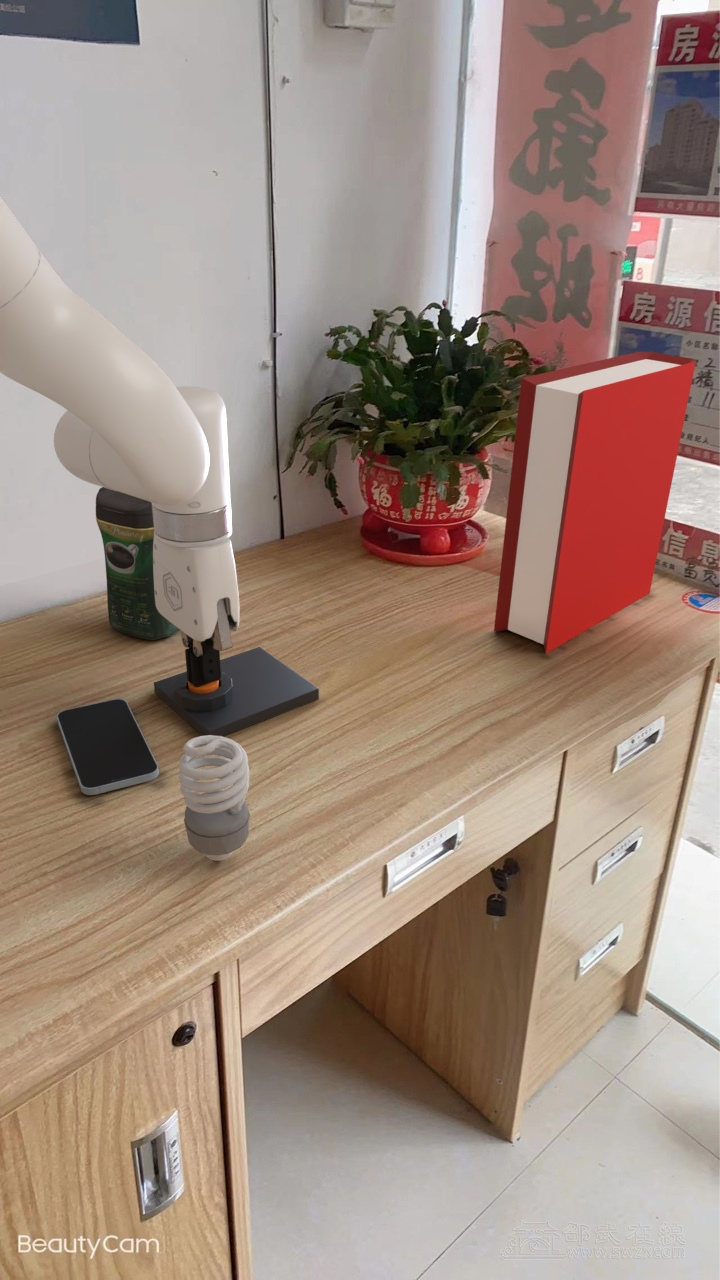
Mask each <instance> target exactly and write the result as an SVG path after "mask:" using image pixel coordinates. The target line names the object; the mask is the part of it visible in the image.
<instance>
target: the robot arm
mask: <svg viewBox="0 0 720 1280" xmlns="http://www.w3.org/2000/svg"><path fill="white" fill-rule="evenodd" d="M0 373H1V374H2V375H4V377H7V378H9V379H10V380H12V381H14V382H16V383H18V384H20V385H22V386H24V387H26V388H28V389H30V390H32V391H34V392H36V393H37V394H40V395H42V396H43V397H46V398H47V399H49V400H51V401H52V402H54V403H56V404H58V405H59V406H60V407H62V408H64V409H65V410H66V411H65V412H64V413H63V414H62V416H61V417H60V418H59V420H58V422H57V424H56V426H55V430H54V433H53V449H54V451H55V454H56V457H57V459H58V460H59V462H60V463H61V465H62V466H63V467H64V469H66V471H68V472H69V473H70V474H72V475H73V476H75V477H76V478H78V479H79V480H81V481H83V482H86V483H89V484H92V485H94V486H99V487H100V488H102V487H104V488H107V489H110V490H113V491H118V492H122V493H125V494H128V495H131V496H134V497H137V498H140V499H143V500H146V501H149V502H152V512H153V522H154V541H153V575H154V593H155V604H156V608H157V610H158V611H159V613H160V614H161V615H162V616H163V617H165V618H166V619H167V620H168V621H170V622H171V623H172V624H173V625H175V626H176V627H177V628H179V629H180V631H179V632H180V637H181V642H182V645H183V647H184V648H185V649H184V654H185V665H186V666H185V667H186V671H187V679H188V681H189V682H190V683H192V684H193V685H194V686H195V687H200V686H203V685H206V684H209V683H211V682H214V681H217V680H219V679H220V678H221V667H220V660H221V653H220V652H223V651H227V650H229V649H232V648H233V646H234V644H233V639H232V633H231V632H235V631H237V630H238V629H239V626H240V619H241V618H240V611H241V610H240V595H239V585H238V584H239V583H238V575H237V567H236V562H235V561H236V560H235V557H234V556H235V555H234V550H233V546H232V541H231V538H230V537H231V536H232V535H233V524H232V523H233V521H232V520H233V519H232V503H231V483H230V480H231V479H230V465H229V464H230V463H229V462H230V461H229V443H228V425H227V424H228V423H227V409H226V404H225V401H224V399H223V397H222V396H221V395H220V394H219V393H218V392H216V391H215V390H212V389H209V388H205V387H199V386H189V385H188V386H185V385H184V386H183V385H182V386H176V385H175V384H174V382H173V381H172V380H171V379H170V378H169V377H168V375H167V374H166V372H164V370H163V369H162V368H161V367H160V365H158V363H156V362H155V360H153V359H152V358H151V356H149V355H148V353H146V352H145V351H144V350H143V349H142V348H141V347H140V346H139V345H137V344H136V343H135V341H133V340H131V339H130V338H129V337H128V336H126V334H124V333H123V332H122V331H121V330H119V328H117V327H116V326H115V325H114V324H112V323H111V322H110V321H109V320H108V319H107V318H106V317H105V316H103V314H101V312H99V311H98V310H97V309H95V307H93V306H92V305H91V304H90V303H88V302H87V301H86V300H85V299H83V298H82V297H81V296H79V295H78V294H76V293H75V292H74V291H73V290H72V289H71V288H69V286H68V285H66V283H65V281H63V280H62V278H60V275H58V274H57V273H56V271H55V270H54V268H53V267H52V266H51V265H50V263H49V261H48V260H47V258H46V257H45V256H44V255H43V253H42V252H41V250H40V248H39V247H38V246H37V245H36V244H35V242H34V241H33V240H32V238H31V237H30V235H29V234H28V232H27V231H26V229H25V228H24V227H23V226H22V224H21V223H20V221H19V220H18V218H17V217H16V216H15V214H14V213H13V212H12V211H11V209H10V207H9V206H8V204H6V202H5V201H4V199H3V198H2V196H0Z"/></svg>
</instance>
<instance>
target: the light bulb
mask: <svg viewBox="0 0 720 1280" xmlns="http://www.w3.org/2000/svg"><path fill="white" fill-rule="evenodd" d="M182 750H183V753H184V754H183V755H181V757H180V758H179V760H178V769H179V772H178V780H179V782H180V789H179V790H180V793H181V795H182V796H183V797H184V798H183V800H184V805H186V807H185V810H184V818H183V822H184V826H185V827H184V828H185V831H186V836H187V839H188V842H189V845H190V846H191V847H192V848H193V849H194V850H196V851H197V852H198V853H200V854H204V856H206V858H208V859H209V860H211V861H216V862H217V861H218V862H223V861H225V860H227V859H228V858H230V857H231V856H232V855H233V854H234V852H235V851H236V850H238V849H240V848H241V847H242V846H243V845H244V844H246V842H247V839H248V837H249V829H250V818H251V814H250V810H249V806H248V805H249V804H248V803H247V801H246V798H247V793H248V791H249V788H250V767H249V757H248V754H247V752H246V750H245V748H243V747H242V745H241V744H239V743H238V742H237V741H234V740H233V739H231V738H229V737H225V736H224V737H222V736H213V735H207V736H202V735H200V736H196V737H193V738H190V739H189V740H188V741H186V743H185V744H184V746H183V749H182ZM205 767H213V768H205ZM200 768H203V769H200ZM214 779H215V780H214ZM216 779H218V780H216ZM208 780H210V781H208ZM211 780H214V781H211Z"/></svg>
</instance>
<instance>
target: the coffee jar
mask: <svg viewBox="0 0 720 1280" xmlns="http://www.w3.org/2000/svg"><path fill="white" fill-rule="evenodd" d="M95 520H96V524H97V527H98V530H99V532H100V534H101V539H102V545H103V552H104V553H103V554H104V563H105V575H106V598H107V600H106V602H107V614H108V622H109V623H108V624H109V625H110V627H111V628H112V629H114V630H116V631H117V632H120V633H122V634H124V635H128V636H130V637H134V638H139V639H143V640H147V641H155V640H159V639H163V638H167V637H171V636H174V635H175V634H178V633H179V632H181V631H180V629H179V628H177V627H176V626H175V625H173V624H172V623H171V622H170V621H168V620H167V619H166V618H165V617H163V616H162V615H161V614H160V613H159V611H158V610H157V608H156V604H155V593H154V575H153V541H154V522H153V512H152V502H149V501H146V500H143V499H140V498H137V497H134V496H131V495H128V494H125V493H122V492H118V491H113V490H110V489H107V488H104V487H100V488H99V489H98V492H97V493H96V496H95Z"/></svg>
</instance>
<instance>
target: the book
mask: <svg viewBox="0 0 720 1280" xmlns="http://www.w3.org/2000/svg"><path fill="white" fill-rule="evenodd" d="M696 363H697V361H696V360H695V359H693V358H691V357H685V356H679V355H674V354H667V353H661V352H655V351H635V352H632V353H627V354H621V355H617V356H613V357H609V358H604V359H600V360H595V361H591V362H586V363H582V364H577V365H574V366H573V365H572V366H569V367H564V368H560V369H556V370H551V371H548V372H543V373H538V374H534V375H529V376H524V377H521V380H520V390H519V397H518V398H519V399H518V407H517V418H516V424H515V425H516V426H515V435H514V443H513V453H512V454H513V455H512V461H511V462H512V463H511V472H510V480H509V489H508V497H507V498H508V499H507V509H506V518H505V524H504V525H505V526H504V535H503V544H502V546H503V547H502V553H501V562H500V572H499V580H498V589H497V599H496V609H495V616H494V617H495V618H494V628H493V632H501V631H507V630H508V631H510V632H512V633H515V634H517V635H520V636H522V637H524V638H527V639H529V640H532V641H534V642H536V643H538V644H541V645H543V648H544V651H545V654H548V653H550V652H551V651H553V650H555V649H557V648H558V647H560V646H561V645H563V644H565V643H566V642H568V641H570V640H572V639H574V638H575V637H577V636H579V635H581V634H582V633H584V632H586V631H587V630H589V629H591V628H592V627H595V626H596V625H598V624H599V623H601V622H603V621H605V620H606V619H608V618H610V617H612V616H613V615H615V614H617V613H619V612H620V611H622V610H623V609H625V608H627V607H628V606H630V605H632V604H634V603H635V602H638V601H639V600H641V599H643V598H644V597H646V596H648V595H649V594H650V593H651V588H652V583H653V578H654V574H655V568H656V564H657V558H658V554H659V548H660V544H661V539H662V533H663V527H664V524H665V520H666V519H665V518H666V513H667V508H668V505H669V499H670V495H671V489H672V484H673V478H674V473H675V468H676V463H677V458H678V454H679V448H680V443H681V437H682V433H683V429H684V423H685V418H686V414H687V409H688V408H687V407H688V405H689V404H688V403H689V399H690V393H691V389H692V384H693V380H694V379H693V378H694V373H695V369H696Z"/></svg>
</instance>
